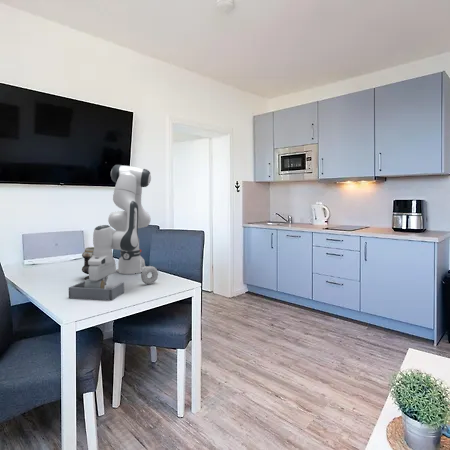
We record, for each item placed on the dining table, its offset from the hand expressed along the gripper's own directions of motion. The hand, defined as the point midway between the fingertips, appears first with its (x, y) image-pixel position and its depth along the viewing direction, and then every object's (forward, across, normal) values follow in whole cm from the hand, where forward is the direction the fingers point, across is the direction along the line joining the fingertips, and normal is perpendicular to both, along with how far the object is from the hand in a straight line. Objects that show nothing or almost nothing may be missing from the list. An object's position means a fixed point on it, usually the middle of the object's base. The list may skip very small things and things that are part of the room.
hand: (103, 285), depth 162 cm
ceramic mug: (+3, +4, -2) cm, 6 cm away
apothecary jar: (+3, -25, -20) cm, 32 cm away
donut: (+4, -18, +17) cm, 25 cm away
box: (+3, +6, 0) cm, 7 cm away
